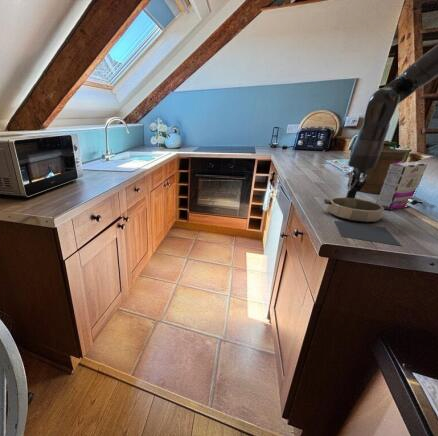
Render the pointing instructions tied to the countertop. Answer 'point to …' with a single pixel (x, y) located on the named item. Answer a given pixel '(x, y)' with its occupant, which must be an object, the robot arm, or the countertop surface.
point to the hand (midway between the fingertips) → (349, 200)
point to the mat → (366, 232)
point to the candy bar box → (400, 184)
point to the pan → (355, 209)
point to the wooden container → (382, 168)
